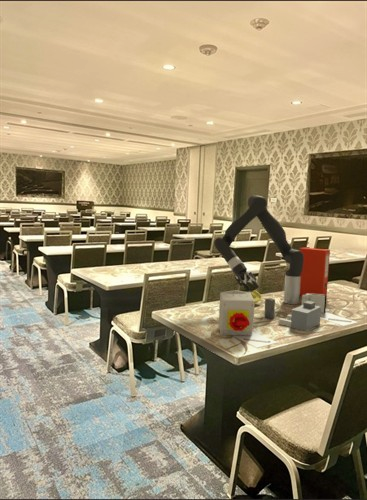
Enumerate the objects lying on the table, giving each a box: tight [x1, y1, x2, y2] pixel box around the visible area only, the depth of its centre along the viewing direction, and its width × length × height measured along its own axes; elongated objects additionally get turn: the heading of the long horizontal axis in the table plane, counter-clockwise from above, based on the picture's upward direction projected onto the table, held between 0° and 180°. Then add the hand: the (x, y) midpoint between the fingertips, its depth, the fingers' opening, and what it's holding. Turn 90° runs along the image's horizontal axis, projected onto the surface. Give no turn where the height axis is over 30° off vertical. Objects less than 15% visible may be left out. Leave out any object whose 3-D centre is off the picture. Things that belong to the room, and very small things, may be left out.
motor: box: [278, 301, 322, 332], centre depth 187 cm, size 20×15×11 cm
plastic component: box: [250, 289, 263, 306], centre depth 221 cm, size 20×7×10 cm
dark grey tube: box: [263, 297, 276, 320], centre depth 195 cm, size 5×5×11 cm
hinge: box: [301, 293, 328, 314], centre depth 208 cm, size 14×5×10 cm, turn 87°
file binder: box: [298, 247, 331, 297], centre depth 243 cm, size 8×17×32 cm, turn 48°
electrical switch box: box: [218, 289, 255, 336], centre depth 168 cm, size 15×15×20 cm
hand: (253, 289), depth 201 cm, fingers open, 8 cm apart
